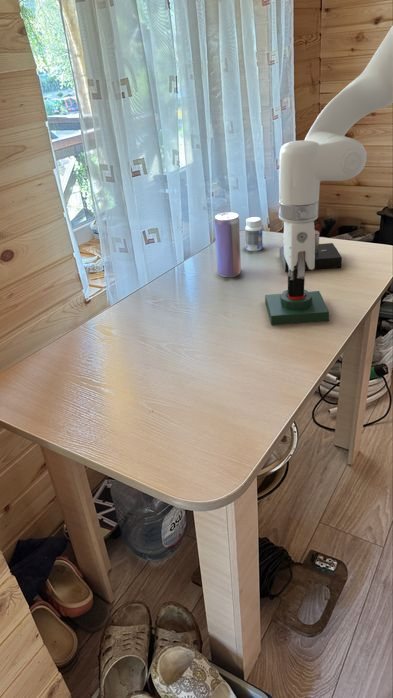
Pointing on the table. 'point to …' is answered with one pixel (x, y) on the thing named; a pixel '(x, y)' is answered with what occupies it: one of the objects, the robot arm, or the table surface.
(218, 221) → the beverage can
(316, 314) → the button block
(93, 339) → the table surface
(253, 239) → the pill bottle
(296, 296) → the button
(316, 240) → the knob
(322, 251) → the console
